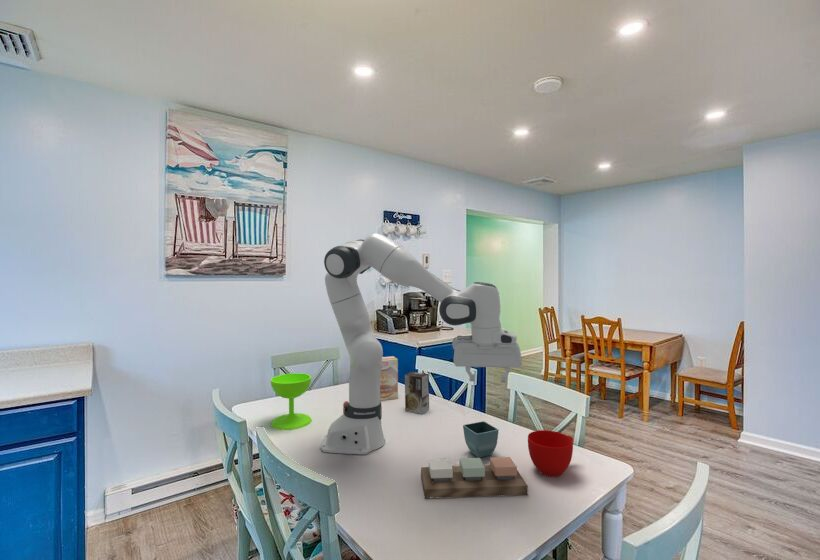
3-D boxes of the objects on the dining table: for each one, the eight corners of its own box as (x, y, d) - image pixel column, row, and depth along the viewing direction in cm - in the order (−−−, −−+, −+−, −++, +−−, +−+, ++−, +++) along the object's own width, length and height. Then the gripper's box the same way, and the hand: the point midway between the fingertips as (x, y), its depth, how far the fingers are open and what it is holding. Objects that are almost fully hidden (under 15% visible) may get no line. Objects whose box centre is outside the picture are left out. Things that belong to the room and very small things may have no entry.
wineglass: (291, 432, 150) (291, 385, 150) (262, 425, 157) (261, 380, 157) (320, 419, 164) (319, 375, 164) (291, 412, 172) (291, 371, 171)
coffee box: (429, 410, 174) (429, 373, 174) (422, 414, 168) (422, 377, 168) (412, 406, 179) (412, 371, 179) (404, 410, 173) (404, 374, 173)
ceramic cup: (590, 471, 120) (590, 438, 120) (554, 487, 111) (554, 451, 111) (554, 454, 131) (554, 424, 131) (518, 468, 122) (518, 435, 122)
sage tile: (463, 486, 109) (463, 468, 109) (459, 475, 115) (459, 458, 115) (484, 485, 109) (484, 467, 109) (479, 474, 115) (479, 457, 115)
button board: (424, 498, 106) (424, 489, 106) (421, 475, 118) (421, 467, 117) (527, 494, 107) (527, 485, 107) (513, 472, 119) (513, 464, 119)
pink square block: (495, 485, 110) (495, 467, 110) (489, 474, 116) (489, 457, 116) (516, 484, 110) (516, 466, 110) (510, 473, 116) (510, 456, 116)
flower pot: (462, 450, 134) (462, 424, 134) (484, 446, 137) (484, 420, 137) (476, 462, 126) (476, 434, 126) (499, 456, 129) (499, 429, 129)
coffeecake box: (368, 402, 185) (368, 361, 184) (364, 398, 191) (364, 358, 191) (398, 398, 190) (398, 358, 190) (393, 394, 197) (393, 355, 196)
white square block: (431, 487, 109) (430, 469, 109) (428, 476, 115) (428, 459, 115) (452, 486, 109) (452, 468, 109) (449, 475, 115) (449, 458, 115)
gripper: (450, 337, 119) (452, 383, 119) (521, 337, 114) (522, 385, 114) (453, 334, 125) (455, 377, 125) (520, 334, 120) (522, 379, 120)
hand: (487, 381), depth 119 cm, fingers open, 8 cm apart
